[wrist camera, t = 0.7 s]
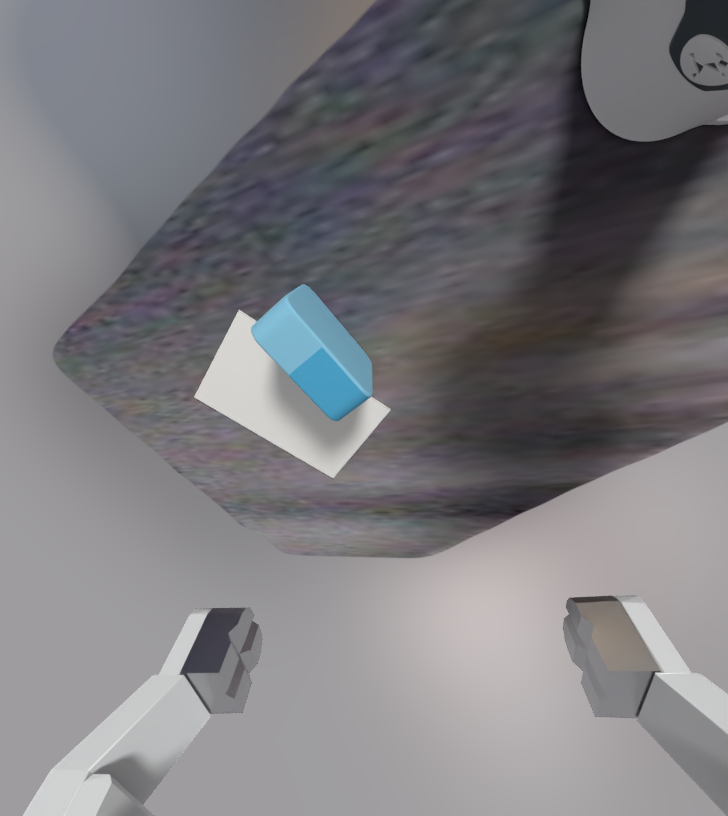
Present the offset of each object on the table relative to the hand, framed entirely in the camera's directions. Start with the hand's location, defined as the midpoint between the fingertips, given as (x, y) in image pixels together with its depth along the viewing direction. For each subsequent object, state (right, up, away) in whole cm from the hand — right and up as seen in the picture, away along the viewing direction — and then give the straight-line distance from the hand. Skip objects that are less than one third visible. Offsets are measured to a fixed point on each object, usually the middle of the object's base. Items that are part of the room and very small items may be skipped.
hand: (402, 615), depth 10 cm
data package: (-5, +14, +34) cm, 37 cm away
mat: (-11, +6, +39) cm, 40 cm away
